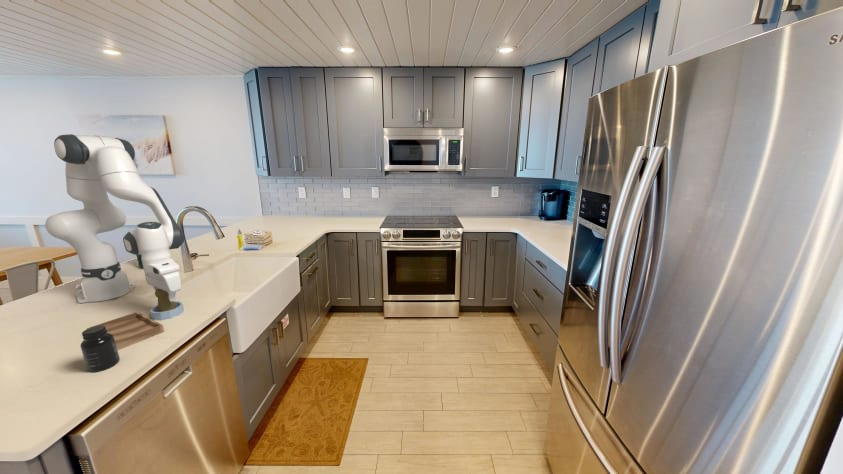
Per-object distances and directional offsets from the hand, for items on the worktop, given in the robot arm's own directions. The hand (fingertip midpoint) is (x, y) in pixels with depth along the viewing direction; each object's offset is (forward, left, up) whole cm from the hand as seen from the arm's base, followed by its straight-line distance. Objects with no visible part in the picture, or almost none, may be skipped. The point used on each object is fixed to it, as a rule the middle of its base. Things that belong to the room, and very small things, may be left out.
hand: (166, 298), depth 121 cm
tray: (+4, -14, -7) cm, 16 cm away
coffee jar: (-74, +21, -7) cm, 78 cm away
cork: (0, 0, -7) cm, 7 cm away
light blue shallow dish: (0, 0, -7) cm, 7 cm away
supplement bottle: (+20, -25, -7) cm, 33 cm away
